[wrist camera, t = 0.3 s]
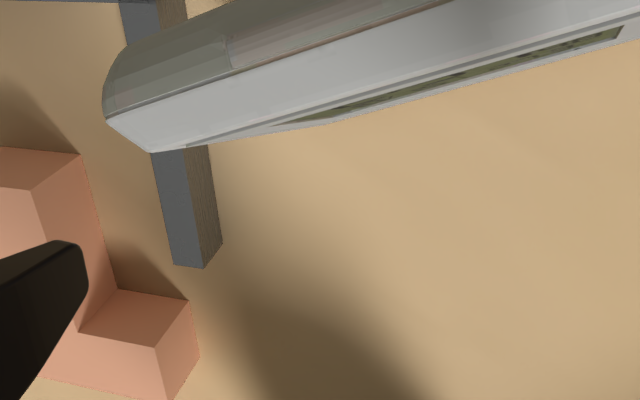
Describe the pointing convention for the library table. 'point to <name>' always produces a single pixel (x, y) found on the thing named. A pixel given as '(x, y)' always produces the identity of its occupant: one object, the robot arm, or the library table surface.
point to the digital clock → (335, 61)
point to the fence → (176, 153)
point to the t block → (94, 286)
